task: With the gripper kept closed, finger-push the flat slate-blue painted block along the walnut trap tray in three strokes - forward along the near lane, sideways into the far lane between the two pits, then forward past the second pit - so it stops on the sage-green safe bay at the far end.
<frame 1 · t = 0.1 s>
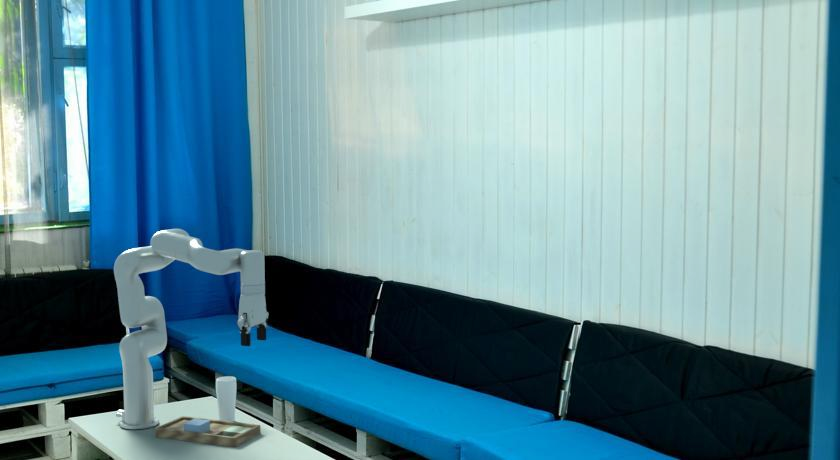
hand: (253, 342, 295), 31 cm above the table, tool pointing down, fingers open, 9 cm apart
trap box: (208, 435, 302), on the table
drinking glass: (226, 422, 317), on the table
block: (197, 431, 300), point 2 cm above the table, touching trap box
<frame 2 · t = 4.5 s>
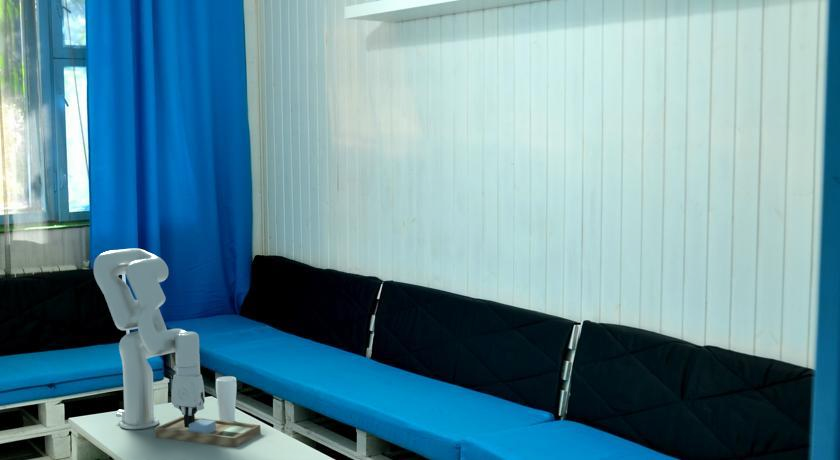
hand: (189, 426, 300), 3 cm above the table, tool pointing down, fingers closed
block: (202, 431, 299), point 2 cm above the table, touching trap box
everything else where it was.
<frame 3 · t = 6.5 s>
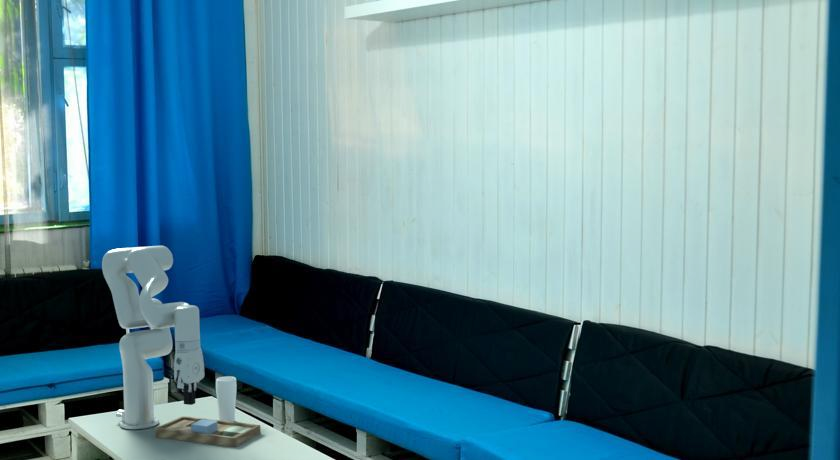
hand: (189, 403, 289), 14 cm above the table, tool pointing down, fingers closed
nothing on the table moved.
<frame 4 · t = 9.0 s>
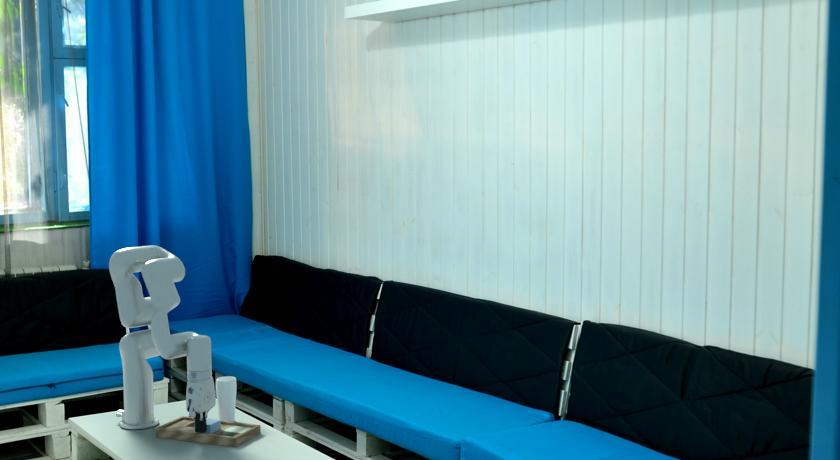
hand: (200, 431, 295), 3 cm above the table, tool pointing down, fingers closed
block: (207, 430, 300), point 2 cm above the table
everything else where it was.
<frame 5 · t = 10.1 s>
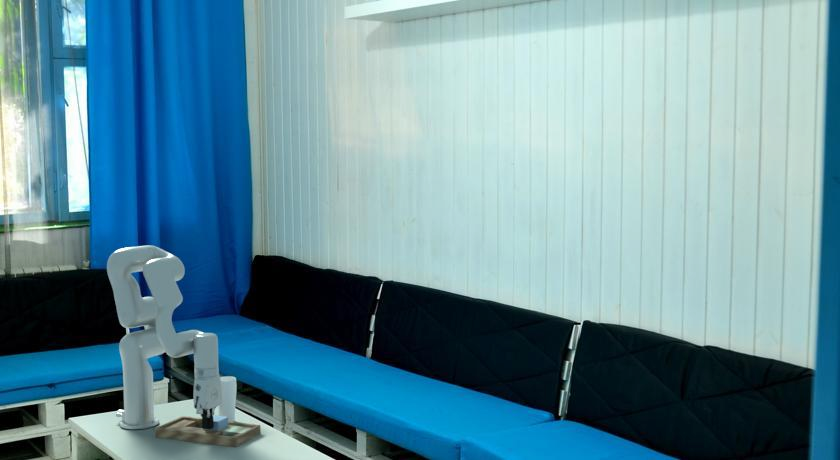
hand: (207, 428, 299), 3 cm above the table, tool pointing down, fingers closed
block: (215, 427, 304), point 2 cm above the table, touching gripper, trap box
everything else where it was.
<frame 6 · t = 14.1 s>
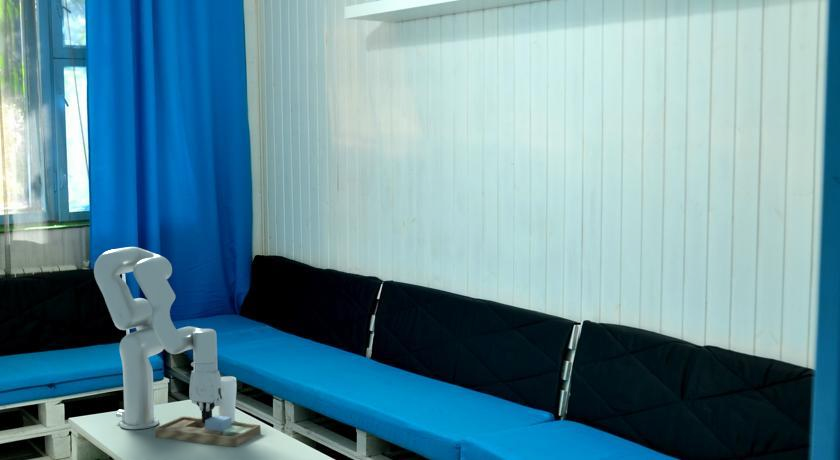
hand: (207, 421, 306), 3 cm above the table, tool pointing down, fingers closed
block: (218, 427, 303), point 2 cm above the table, touching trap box
everything else where it was.
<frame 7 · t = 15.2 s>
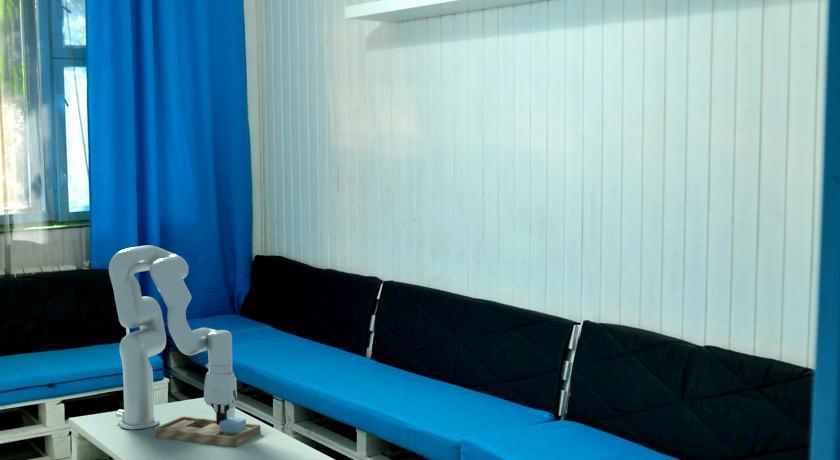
hand: (221, 423, 304), 3 cm above the table, tool pointing down, fingers closed
block: (232, 429, 301), point 2 cm above the table, touching gripper
everything else where it was.
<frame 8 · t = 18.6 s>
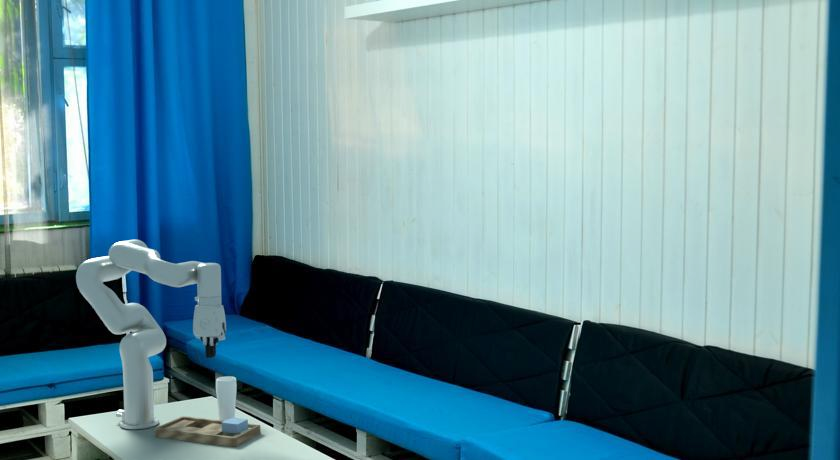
hand: (210, 356, 303), 25 cm above the table, tool pointing down, fingers closed
block: (234, 430, 301), point 2 cm above the table, touching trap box
everything else where it was.
at the end: block inside the target area on the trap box (1.4 cm from its centre), point 2.0 cm above the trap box's base; block tilted 0° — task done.
